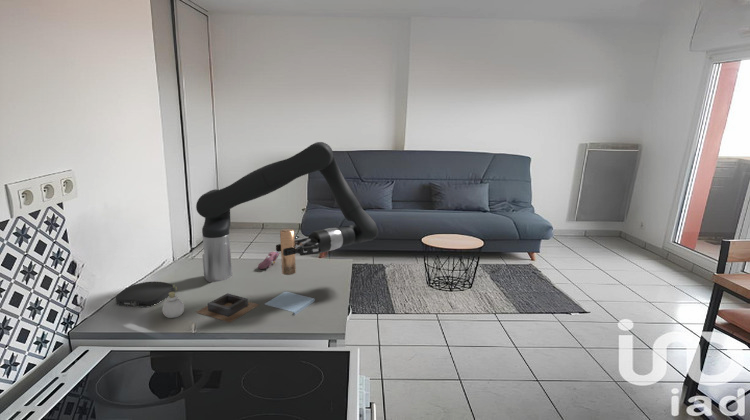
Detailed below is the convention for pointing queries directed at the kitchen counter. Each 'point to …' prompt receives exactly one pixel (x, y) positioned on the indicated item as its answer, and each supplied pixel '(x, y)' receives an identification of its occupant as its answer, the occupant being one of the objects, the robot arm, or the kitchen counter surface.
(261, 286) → the kitchen counter surface
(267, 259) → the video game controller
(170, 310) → the ornament
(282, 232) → the copper rod
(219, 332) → the kitchen counter surface
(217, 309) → the board
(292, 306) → the pad
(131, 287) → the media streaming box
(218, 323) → the kitchen counter surface
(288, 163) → the robot arm
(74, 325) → the kitchen counter surface
